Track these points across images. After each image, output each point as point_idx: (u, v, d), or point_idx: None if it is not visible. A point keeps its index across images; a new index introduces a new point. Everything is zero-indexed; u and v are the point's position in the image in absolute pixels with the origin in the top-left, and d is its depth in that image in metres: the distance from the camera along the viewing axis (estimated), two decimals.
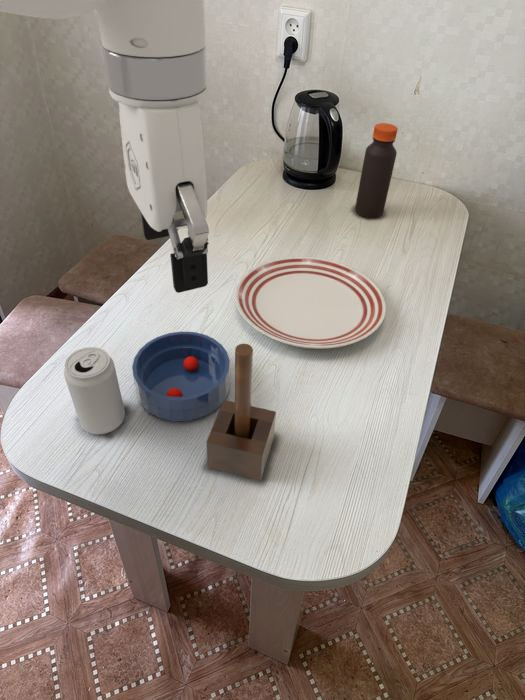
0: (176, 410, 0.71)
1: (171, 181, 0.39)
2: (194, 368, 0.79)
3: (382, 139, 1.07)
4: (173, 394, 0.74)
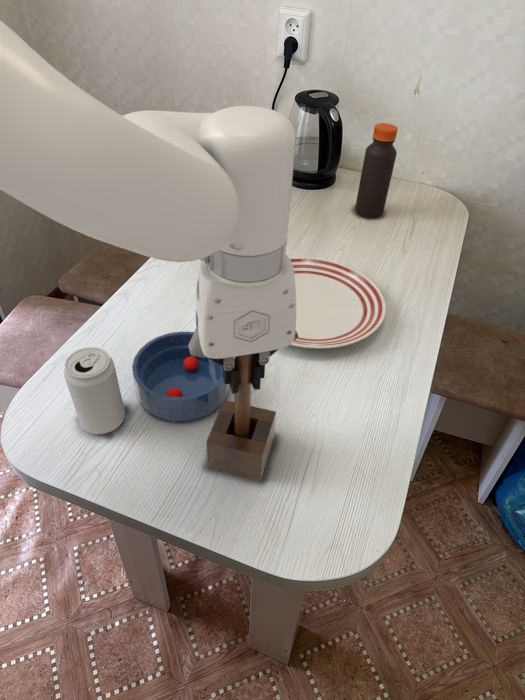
0: (176, 410, 0.71)
1: None
2: (194, 368, 0.79)
3: (382, 139, 1.07)
4: (173, 394, 0.74)
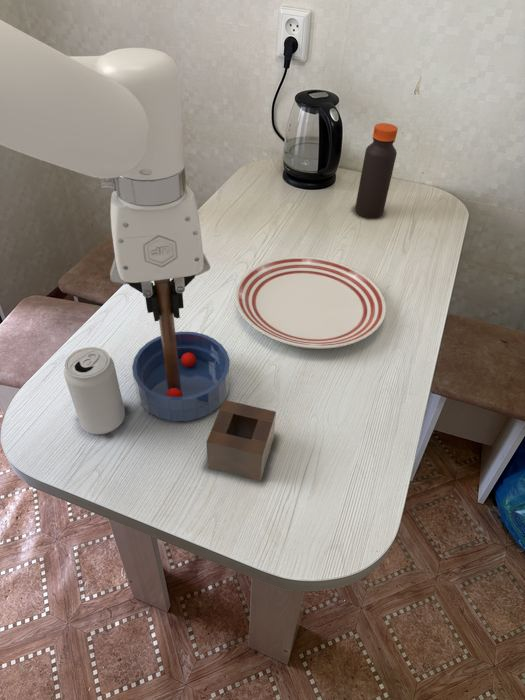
0: (176, 410, 0.71)
1: None
2: (190, 359, 0.79)
3: (382, 139, 1.07)
4: (173, 394, 0.74)
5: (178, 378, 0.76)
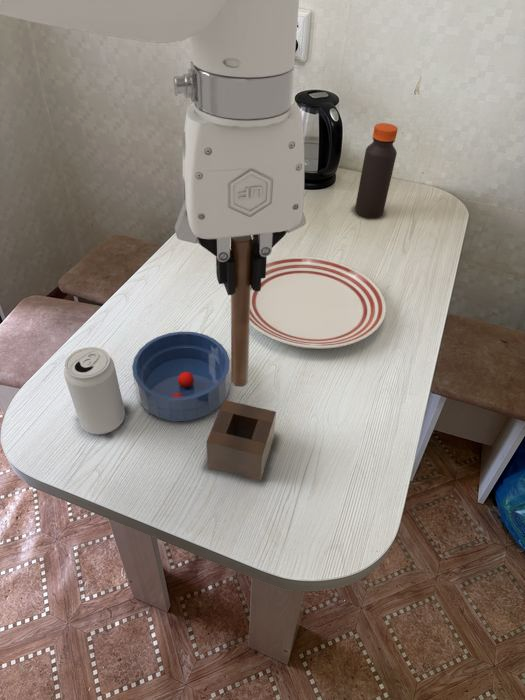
0: (176, 410, 0.71)
1: None
2: None
3: (382, 139, 1.07)
4: None
5: (247, 371, 0.60)
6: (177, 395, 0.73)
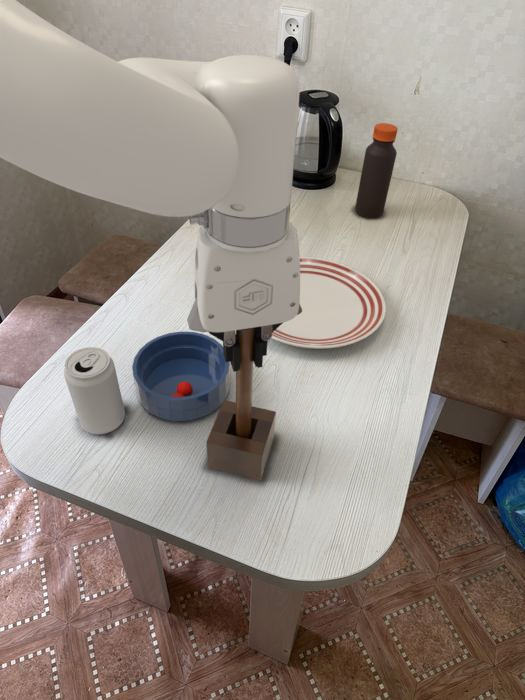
0: (176, 410, 0.71)
1: None
2: (187, 383, 0.75)
3: (382, 139, 1.07)
4: None
5: (250, 429, 0.66)
6: (178, 394, 0.73)
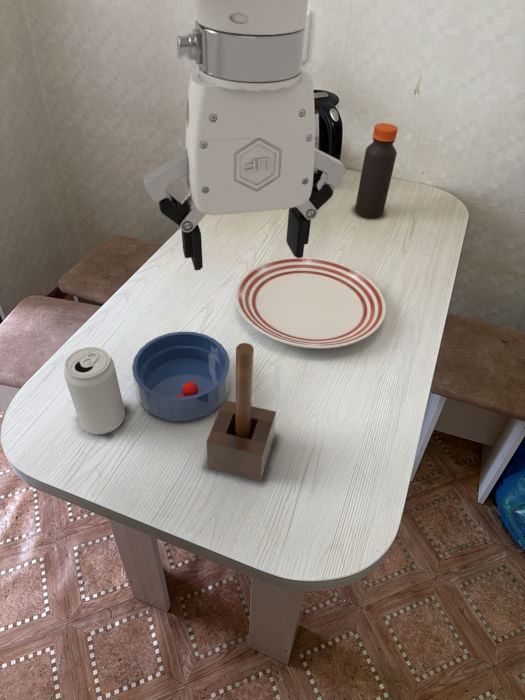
0: (176, 410, 0.71)
1: None
2: (196, 386, 0.76)
3: (382, 139, 1.07)
4: None
5: None
6: None
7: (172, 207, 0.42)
